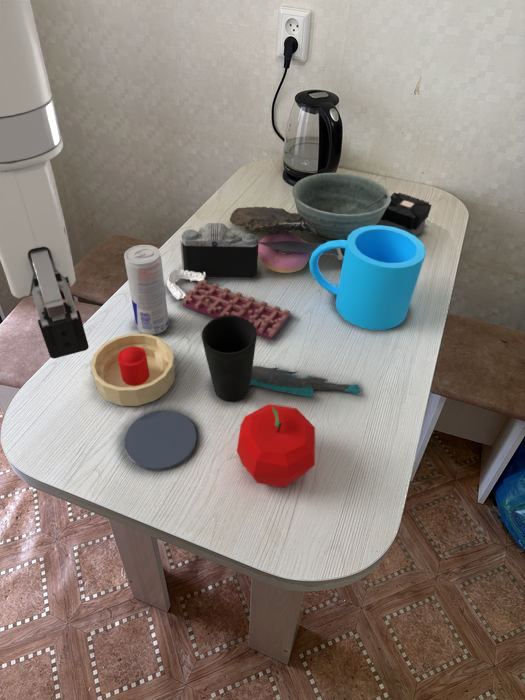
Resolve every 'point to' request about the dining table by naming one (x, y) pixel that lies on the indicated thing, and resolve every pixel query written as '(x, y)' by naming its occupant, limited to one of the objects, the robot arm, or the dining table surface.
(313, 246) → the knife
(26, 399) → the dining table surface
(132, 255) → the beverage can
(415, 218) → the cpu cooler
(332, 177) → the bowl
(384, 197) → the screw
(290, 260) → the doughnut
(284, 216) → the rock
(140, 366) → the red cylinder
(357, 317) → the mug
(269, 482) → the apple
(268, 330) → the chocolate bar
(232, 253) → the camera
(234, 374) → the cup
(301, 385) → the knife
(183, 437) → the dark grey coaster
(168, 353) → the serving bowl
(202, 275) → the false teeth
